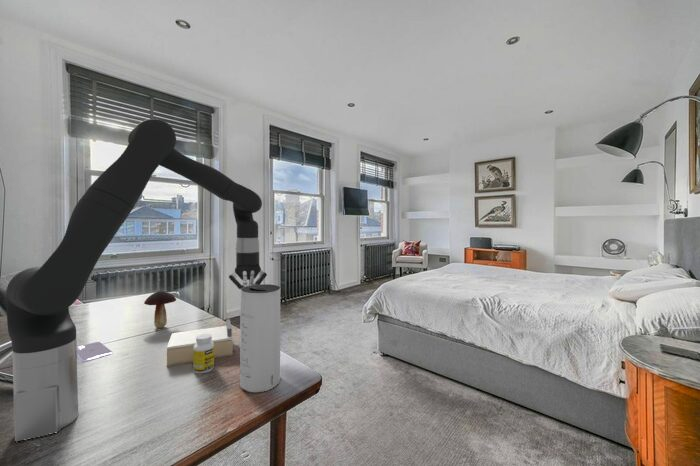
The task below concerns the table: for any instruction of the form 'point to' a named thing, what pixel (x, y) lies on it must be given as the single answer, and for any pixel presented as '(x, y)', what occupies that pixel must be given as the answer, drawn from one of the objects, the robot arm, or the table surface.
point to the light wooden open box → (186, 353)
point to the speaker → (259, 337)
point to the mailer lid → (190, 336)
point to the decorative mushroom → (160, 306)
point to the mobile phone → (92, 351)
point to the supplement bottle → (203, 354)
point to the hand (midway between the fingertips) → (248, 300)
